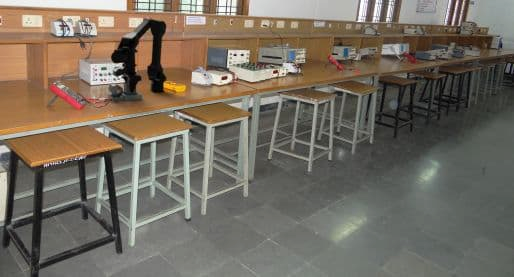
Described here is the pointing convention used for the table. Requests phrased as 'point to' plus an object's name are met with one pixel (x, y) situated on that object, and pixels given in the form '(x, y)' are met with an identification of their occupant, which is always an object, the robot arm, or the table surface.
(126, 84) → the pump block
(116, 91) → the motor mount
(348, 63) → the table surface
